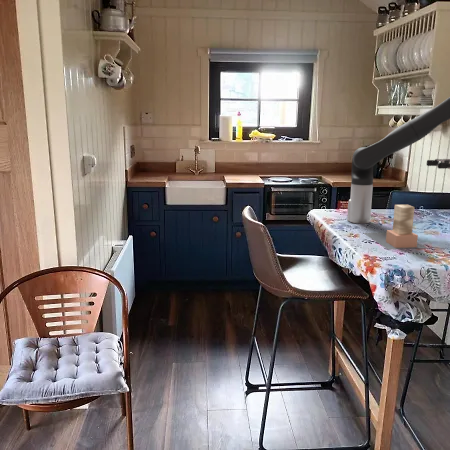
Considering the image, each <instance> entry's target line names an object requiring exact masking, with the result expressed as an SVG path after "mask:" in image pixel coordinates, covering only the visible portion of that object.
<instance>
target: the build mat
mask: <svg viewBox="0 0 450 450" xmlns="http://www.w3.org/2000/svg"><path fill="white" fill-rule="evenodd" d="M363 234H364V235H365V236H367V237H368V238H370V239H371V240H373V241H374V242H375V243H377V244H379V245H380V246H382V247H383V248H385V249H386V250H387V251H388V250H414V249H415V250H417V249H418V250H419V249H428V247H427V246H425V245H423V244H421V243H419V242H418V241H417V247H408V248H395V247H393V246H392V245H390V244H389V243H387V242H386V234H387V231H385V232H381V231H380V232H363Z"/></svg>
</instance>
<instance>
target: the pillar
mask: <svg viewBox="0 0 450 450" xmlns="http://www.w3.org/2000/svg"><path fill="white" fill-rule="evenodd" d="M414 217H415V206H412V205H410V204H394V209H393V223H392V230H393V232H395V233H397V234H398V235H403V234H412V232H413V226H414Z"/></svg>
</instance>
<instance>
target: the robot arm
mask: <svg viewBox="0 0 450 450" xmlns="http://www.w3.org/2000/svg"><path fill="white" fill-rule="evenodd" d="M448 120H450V96H449V97H447V98H446V99H444V100H443V101H442V102H440V103H439V104H437V105H436V106H434V107H433V108H431V109H430V110H428V111H426V112H424V113H421V114H419V115H417V116H416V117H414V118H412V119H411V120H408V121H406V122H405V123H403V124H401V125H400V126H398V127H396V128H395V129H393V130H392V131H391V132H389V133H388V134H387V135H386V136H384V138H382V139H381V140H379V141H377V142H375V143H373V144H371V145H368V146H367V147H366V146H362V147H359V148H357V149H355V151H354V152H353V154H352V159H351V175H350V176H351V181H350V182H351V184H350V199H348V200H347V201H348V202H347V203H348V204H347V219H346V220H347V221H348V222H350V223H354V224H369V223H371V215H372V198H373V188H374V187H373V186H374V185H373V184H374V166H375V165H377V163H379V162H381V161H382V160H384V159H385V158H387V157H388V156H390V155H392V154H394V153H397V152H399V151H401V150H403V149H405V148H407V147H409V146H411V145H413V144H415V143H417V142H419V141H420V140H423V138H425V137H426V136H428V134H430V133H431V132H432V131H433V130H434V131H435V129H436V128H437V127H438V126H440V125H442V124H443V123H445V122H447V121H448ZM426 166H427V167H437V169H438V170H439V169H441V170H443V169H449V170H450V158H441V159H440V158H435V159H427V160H426Z"/></svg>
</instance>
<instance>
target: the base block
mask: <svg viewBox="0 0 450 450" xmlns="http://www.w3.org/2000/svg"><path fill="white" fill-rule="evenodd" d="M386 232H387V234H386V242H387V243H389V244H390V245H392V246H393V247H395V248H408V247H417V242H418V237H419V235H418V234H416V233H414V232H413V231H412V234H403V235H398V234H397V233H395V232H393V229H391V230H389V229H387V230H386Z"/></svg>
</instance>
